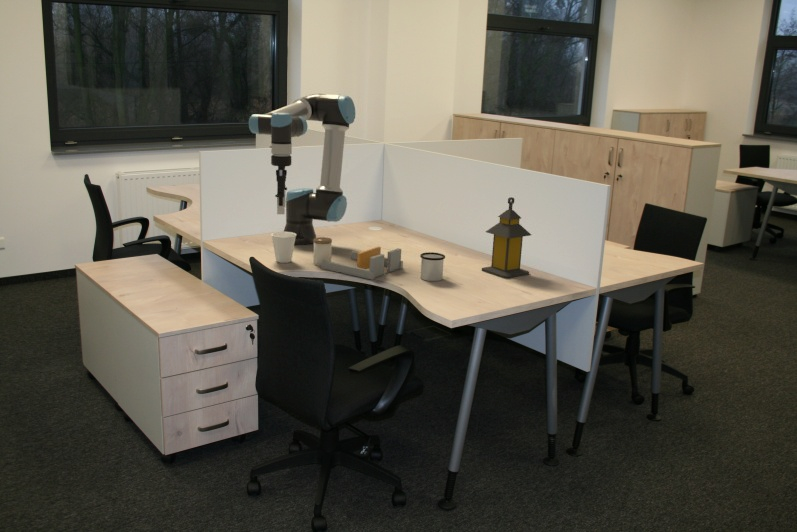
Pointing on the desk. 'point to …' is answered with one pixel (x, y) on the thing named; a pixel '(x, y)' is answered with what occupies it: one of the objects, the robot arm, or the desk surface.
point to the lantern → (507, 245)
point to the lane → (375, 265)
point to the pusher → (367, 257)
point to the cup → (283, 246)
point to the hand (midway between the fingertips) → (281, 210)
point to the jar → (322, 250)
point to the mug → (432, 266)
